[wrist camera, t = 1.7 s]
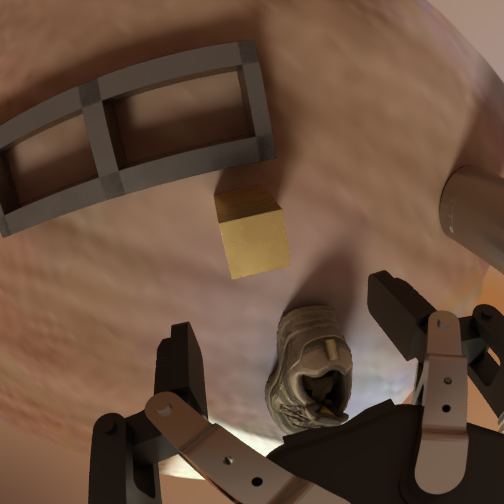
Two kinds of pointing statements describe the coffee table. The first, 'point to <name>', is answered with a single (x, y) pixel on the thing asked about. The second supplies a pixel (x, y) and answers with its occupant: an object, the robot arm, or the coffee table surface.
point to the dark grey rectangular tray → (109, 139)
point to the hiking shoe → (310, 371)
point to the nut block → (252, 231)
